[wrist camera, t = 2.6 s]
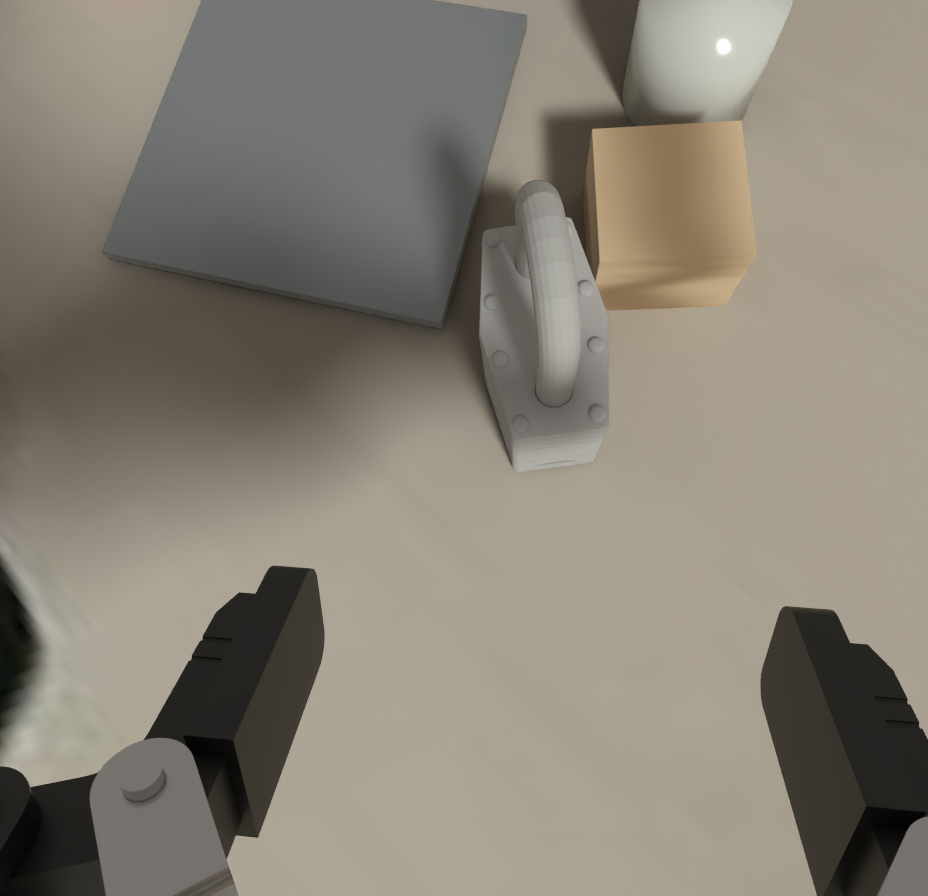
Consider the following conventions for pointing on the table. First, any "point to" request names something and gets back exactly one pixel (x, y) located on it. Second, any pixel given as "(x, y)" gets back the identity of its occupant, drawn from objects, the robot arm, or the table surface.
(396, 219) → the mat
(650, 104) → the white rounded capsule
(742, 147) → the oak block
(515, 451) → the padlock
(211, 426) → the table surface
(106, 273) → the table surface
